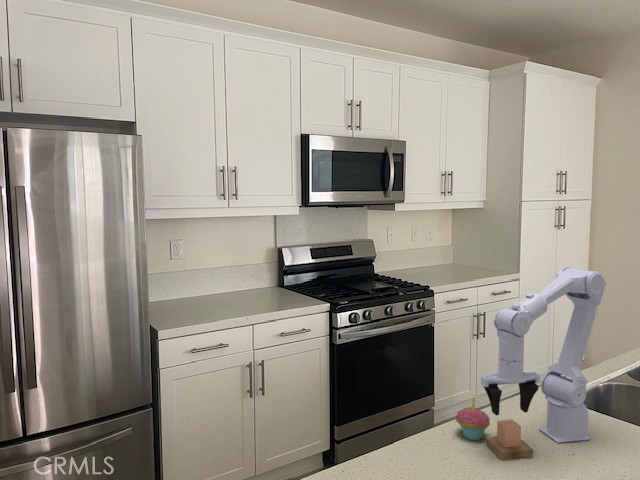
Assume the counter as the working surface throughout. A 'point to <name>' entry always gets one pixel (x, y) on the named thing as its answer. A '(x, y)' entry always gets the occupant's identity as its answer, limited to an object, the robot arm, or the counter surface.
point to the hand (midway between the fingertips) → (509, 412)
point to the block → (509, 433)
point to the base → (509, 450)
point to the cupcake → (473, 421)
